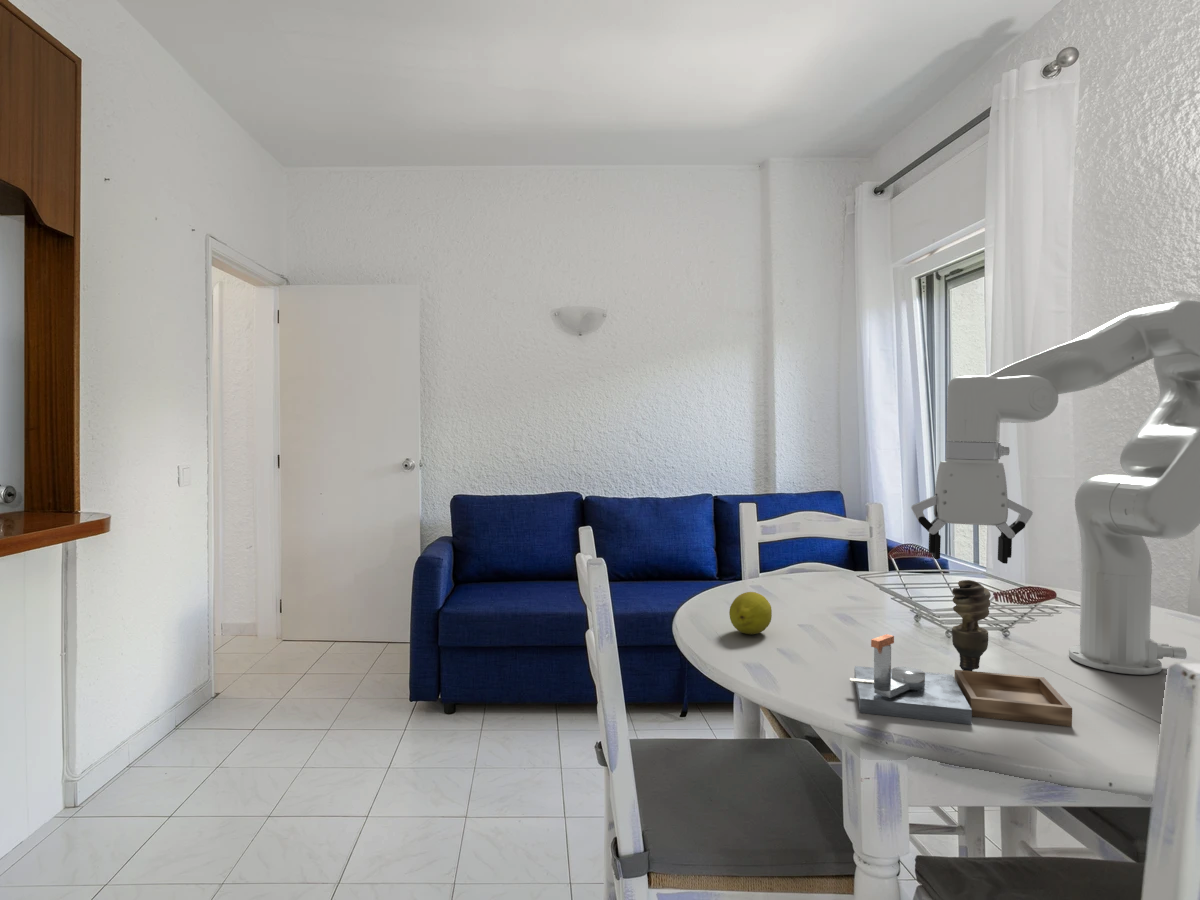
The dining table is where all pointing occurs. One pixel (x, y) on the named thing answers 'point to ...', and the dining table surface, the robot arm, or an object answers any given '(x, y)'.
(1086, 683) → the dining table surface
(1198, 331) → the robot arm
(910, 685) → the crank
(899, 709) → the crank base
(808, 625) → the dining table surface
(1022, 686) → the tray
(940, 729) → the dining table surface
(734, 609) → the lemon
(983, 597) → the light bulb
